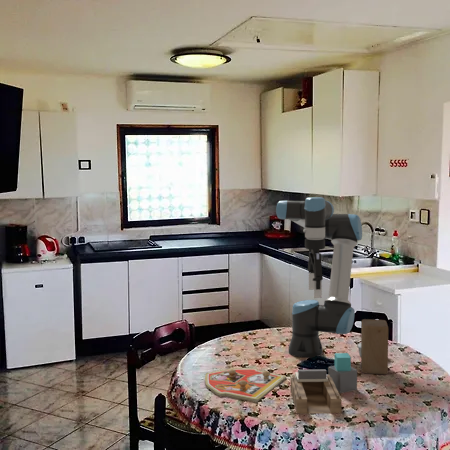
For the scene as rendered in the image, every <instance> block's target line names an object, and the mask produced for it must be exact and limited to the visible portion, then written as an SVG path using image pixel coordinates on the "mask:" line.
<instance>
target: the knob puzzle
mask: <svg viewBox="0 0 450 450" xmlns="http://www.w3.org/2000/svg"><path fill="white" fill-rule="evenodd" d="M286 379H287V376H286V375H283V374H278V373H272V372H270V371H268V370H259V369H258V368H253V367H252V368H248V367H247V368H246V367H245V368H244V367H243V368H227V369H219V370H216V371H214V370H213V371H211V372H206V373H205V376H204V383H205V387H206V389H207V390H209V389H210V390H211V391H210V390H209V391H210V392H211V393H213V392H214V393H215V394H214V393H213V394H214V395H216V396H217V395H218V396H217V397H220V396H224V397H227V396H228V398H232V397H233V398H232V399H237V400H242V401H248V402H251V403H257V404H258V403H259V401H260V400H262V399H263V398H264V397H265V396H266V395H268V394H269V393H270V392H271V391H272V390H273V389H274V388H276V387H278V386H280V384H282V383H283V382H284V381H285V380H286Z"/></svg>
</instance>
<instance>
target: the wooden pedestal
mask: <svg viewBox="0 0 450 450" xmlns="http://www.w3.org/2000/svg"><path fill="white" fill-rule="evenodd" d="M326 376H327V378H328V382H297V379H296V376H295V374H293V375H292V377H290V394H291V397H292V401H293V405H294V408H295V409H294V410H295V412H296V414H297V415H298V414H302V415H303V414H305V415H306V414H307V415H309V414H310V415H311V414H315V415H316V414H342V396H341V394H340V393H339V392H338V390H337V388H336V386H335V384H334V382H333V380H332V378H331V377H330V375H328V374H326Z"/></svg>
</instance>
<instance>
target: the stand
mask: <svg viewBox="0 0 450 450" xmlns="http://www.w3.org/2000/svg"><path fill="white" fill-rule="evenodd" d="M327 369H328V370H327V373H328V374H327V375H330V377H331V378H332V380H333V382H334V384H335V386H336V388H337V390H338V393H339V394H343V393H348V392H352V391H357V390H358V369H356V368H354V367H352V366H351V371H337V370H336V368H335V365H331V366H328V367H327Z"/></svg>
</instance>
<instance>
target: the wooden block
mask: <svg viewBox="0 0 450 450" xmlns="http://www.w3.org/2000/svg"><path fill="white" fill-rule="evenodd" d="M360 326H361V327H360V328H361V331H360V333H361V335H360V336H361V337H360V339H361V340H360V343H361V357H360V366H361V372H362V373H363V374H370V375H388V372H389V366H388V365H389V326H388V323H387V320H385V319H369V318H367V319H366V318H364V319H361V325H360Z"/></svg>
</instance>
